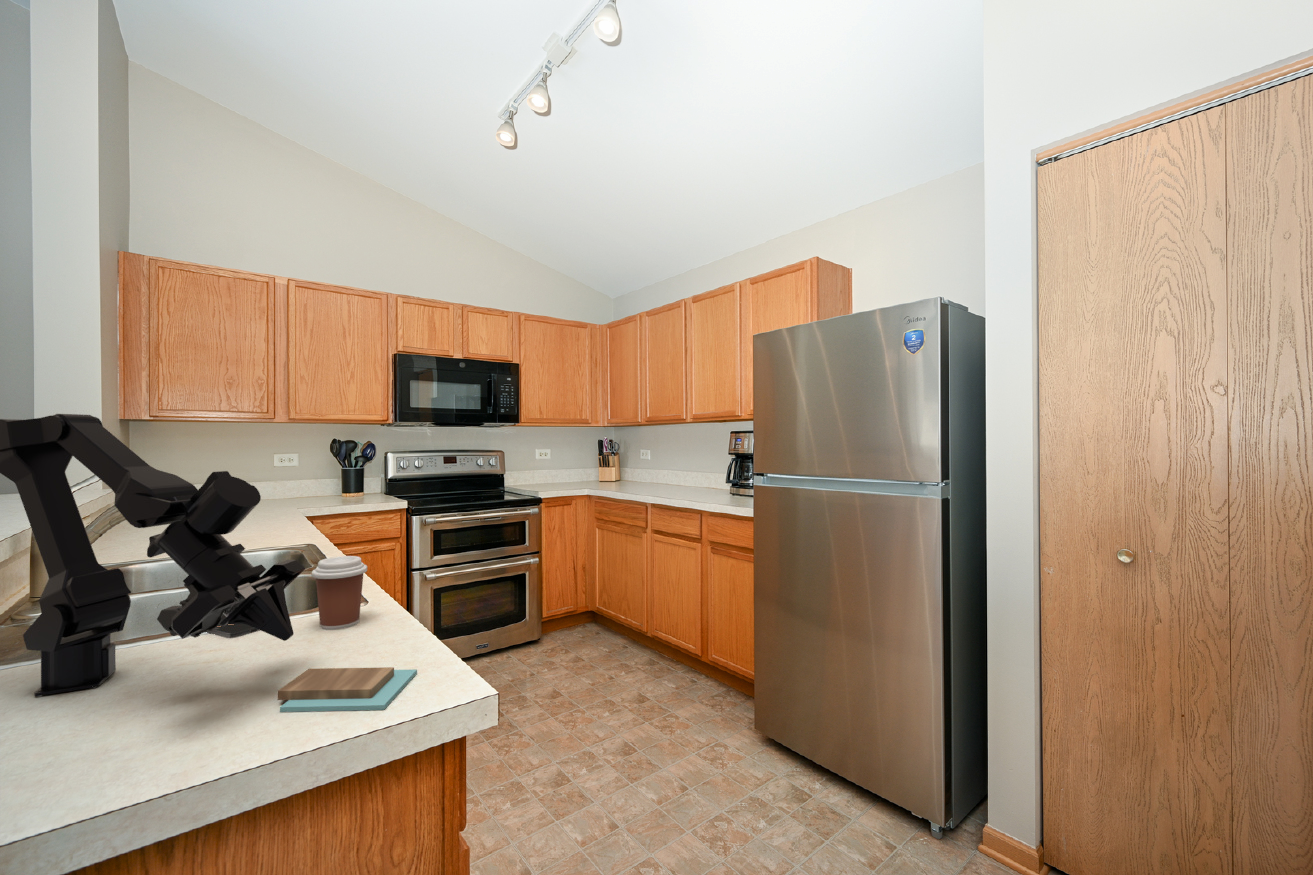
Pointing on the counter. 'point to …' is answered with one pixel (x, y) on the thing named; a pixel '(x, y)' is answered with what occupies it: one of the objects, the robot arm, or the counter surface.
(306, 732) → the counter surface
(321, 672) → the walnut tile
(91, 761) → the counter surface
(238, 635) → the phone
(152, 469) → the robot arm
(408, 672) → the mat
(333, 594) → the coffee cup
